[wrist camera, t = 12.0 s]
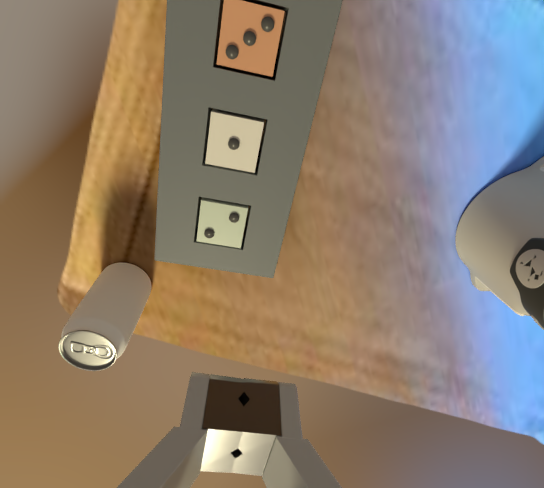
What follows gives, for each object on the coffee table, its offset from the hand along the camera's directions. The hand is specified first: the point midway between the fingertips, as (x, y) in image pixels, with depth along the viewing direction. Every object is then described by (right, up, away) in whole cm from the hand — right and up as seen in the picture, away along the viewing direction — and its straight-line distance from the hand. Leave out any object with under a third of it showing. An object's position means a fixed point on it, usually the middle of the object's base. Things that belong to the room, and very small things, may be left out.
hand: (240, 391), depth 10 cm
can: (-18, -1, +36) cm, 40 cm away
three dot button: (-1, +23, +22) cm, 32 cm away
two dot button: (-5, +8, +31) cm, 32 cm away
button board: (-3, +16, +27) cm, 31 cm away
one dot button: (-3, +16, +27) cm, 31 cm away
